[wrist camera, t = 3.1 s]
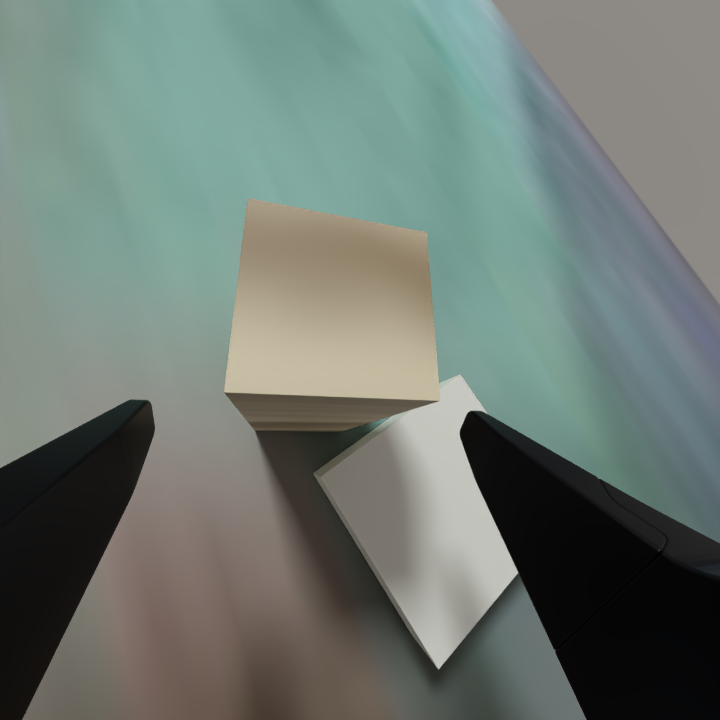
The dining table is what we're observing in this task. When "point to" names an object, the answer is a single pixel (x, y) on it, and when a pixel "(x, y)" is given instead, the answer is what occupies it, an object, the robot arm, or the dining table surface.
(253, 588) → the dining table surface
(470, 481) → the off-white base block
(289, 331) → the maple pillar block
